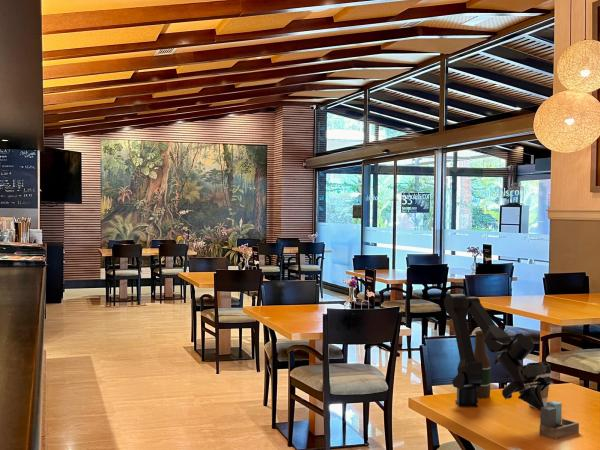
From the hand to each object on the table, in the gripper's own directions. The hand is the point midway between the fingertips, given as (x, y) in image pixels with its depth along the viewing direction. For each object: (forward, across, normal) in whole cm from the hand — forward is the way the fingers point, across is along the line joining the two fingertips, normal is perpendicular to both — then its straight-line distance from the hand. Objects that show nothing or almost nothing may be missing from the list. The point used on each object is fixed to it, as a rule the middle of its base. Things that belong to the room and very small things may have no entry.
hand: (543, 410), depth 206 cm
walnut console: (+7, +3, +2) cm, 8 cm away
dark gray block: (+6, 0, +4) cm, 7 cm away
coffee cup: (-9, +24, +18) cm, 31 cm away
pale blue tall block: (+4, +6, +5) cm, 9 cm away
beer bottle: (-23, +16, +33) cm, 43 cm away
